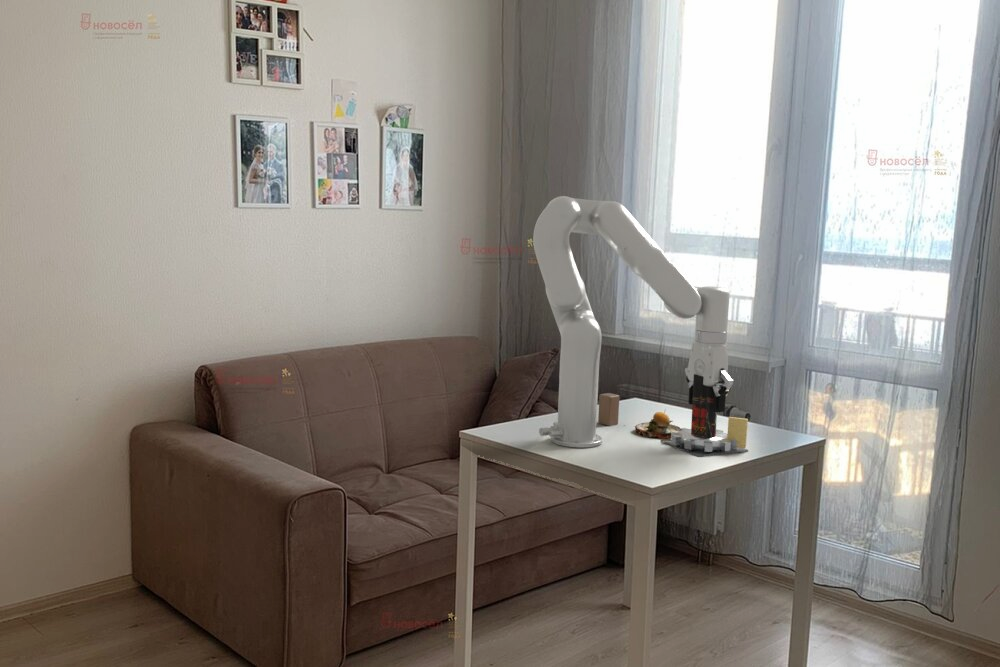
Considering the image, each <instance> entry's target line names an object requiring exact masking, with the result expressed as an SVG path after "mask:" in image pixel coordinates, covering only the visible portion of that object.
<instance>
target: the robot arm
mask: <svg viewBox="0 0 1000 667" xmlns="http://www.w3.org/2000/svg"><path fill="white" fill-rule="evenodd" d="M571 233H575V234H584V235H585V234H586V235H594V236H595V235H597V236H601V237H602V238H603V239H604V240H605V241H606V243H608V244H609V246H610V247H611V248H612V250H614V251H615V253H616V254H617V255H618V256H619V258H621V260H623V262H624V263H625V264H626V265H627V267H628V268H629V270H631V271H632V272H633V273H634V274H635V275H636V276H637V277H639V278H640V279H641V280H643V281H644V282H645V283H646V284H647V285H648V286H649V287H650V288H651V289H652V290H653V292H654V293H655V294H657V295H658V297H659V298H660V299H661V300H662V301H663V304H664V306H665V308H666V310H667V311H668V312H669V313H671V314H672V315H674V316H675V317H677V318H679V319H682V320H683V319H684V320H685V319H686V320H687V319H691V318H693V317H695V328H694V329H695V331H694V341H692V343H691V348H690V353H689V357H688V358H689V359H688V366H687V367H686V368H684V374H685V376H686V382H687V388H689V389H688V390H689V391H688V405H692V401H693V380H694V374H695V375H699V376H702V377H704V378H703V385H705V386H708V387H711V386H712V387H713V389H714V392H715V395H716V396H714V397H713V412H715V413H716V412H717V413H724V412H725V410H726V399H727V398H726V397H728V394H729V392H730V391H731V388H732V386H733V384H734V379H732V378H731V376H730V375H729V374H728V373H729V372H728V370H729V369H728V368H729V361H728V360H729V358H728V346H727V339H728V338H727V337H728V323H729V322H728V320H729V311H730V310H729V308H730V291H729V289H727V288H726V287H722V286H701V287H700V286H693V284H692V283H691V282H690V281H689V280H688V278H686V276H685V275H684V274H683V273H682V272H681V270H680V269H679V268H678V267H677V266H676V265H675V264H674V263H673V262H672V261H671V259H670V258H669V257H668V256H667V255H666V253H665V252H664V251H663V250H662V248H661V247H660V246H659V245H658V244H657V242H656V241H655V240H654V239H653V238H652V237H651V236H650V235H649V234H648V232H646V230H645V228H643V227H642V225H641V224H640V222H638V221H637V219H636V218H635V217H634V216H633V215H632V214H631V212H629V210H628V209H627V208H626V207H625V206H624V204H622V203H620V202H618V201H614V200H595V199H593V200H592V199H583V198H577V197H570V196H565V195H560V196H557V197H555V198H553V199H552V200H550V201H549V202H548V203H547V205H546V207H545V208H544V209H543V210H542V212H541V214H539V216H538V218H537V220H536V223H535V226H534V229H533V236H532V238H533V239H532V242H533V249H534V254H535V257H536V260H537V263H538V267H539V270H540V273H541V276H542V279H543V282H544V285H545V294H546V297H547V300H548V303H549V305H550V308H551V312H552V314H553V317H554V319H555V323H556V325H557V328H558V330H559V333H560V356H559V376H558V378H559V381H558V382H559V384H558V402H557V405H558V406H557V421H556V422H553V425H551V426H550V427H540V428H539V430H538V433H539V435H540V436H541V437H543V436H545V437H546V436H549V437H550V441H551V442H552V443H553V444H555V445H559V446H563V447H568V448H592V447H594V448H595V447H598V446H600V445H601V444H602V443H603V438H602V437H601V435H599V434H597V421H598V419H597V418H598V417H597V416H598V399H599V398H598V397H599V396H598V394H599V377H600V376H599V374H600V372H599V371H600V360H601V359H600V358H601V348H602V340H603V339H602V329H601V327H600V324H599V322H598V321H597V320H596V318H595V315H594V313H593V309H592V306H591V303H590V301H589V298H588V294H587V291H586V285H585V283H584V280H583V278H582V277H581V275H580V272H579V270H578V266H577V264H576V261H575V258H574V255H573V251H572V248H571V244H570V235H571Z"/></svg>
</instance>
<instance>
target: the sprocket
mask: <svg viewBox="0 0 1000 667" xmlns="http://www.w3.org/2000/svg"><path fill="white" fill-rule="evenodd" d="M748 423H749V419H748V418H746V417H745V418H743V417H735V416H728V423H727V433H725V432H724V430H721V429H716V436H715V437H712V438H699V437H695V436H692V435H691V428H686V427H682V428H681V427H680V428H679V431H672V432H671V440H672V443H673V444H674V445H683V446H684V448H685V449H690V450H691V449H701V450H704V451H705V452H712V450H722V451H730V448H737V447H739V448H745V449H747V439H748V438H747V436H748V426H749V424H748Z"/></svg>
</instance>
